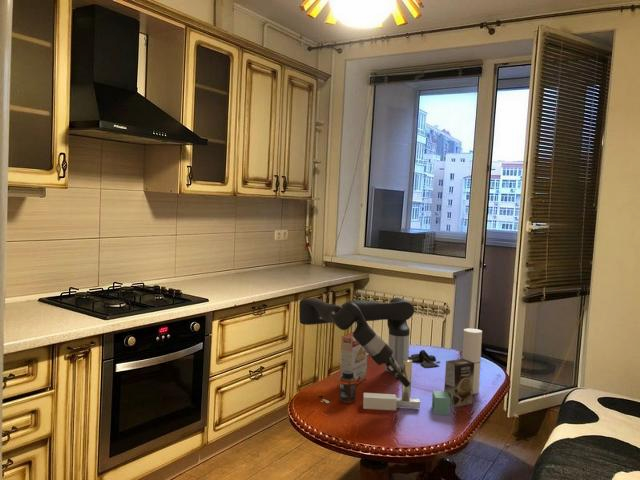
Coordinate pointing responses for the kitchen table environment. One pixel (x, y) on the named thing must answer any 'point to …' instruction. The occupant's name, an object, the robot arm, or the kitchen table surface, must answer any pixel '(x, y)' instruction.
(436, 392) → the socket
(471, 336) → the cylindrical container
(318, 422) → the kitchen table surface
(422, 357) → the cloth
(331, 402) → the kitchen table surface
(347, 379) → the supplement bottle
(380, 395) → the sleeve
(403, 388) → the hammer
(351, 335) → the cracker box
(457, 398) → the coffee box
